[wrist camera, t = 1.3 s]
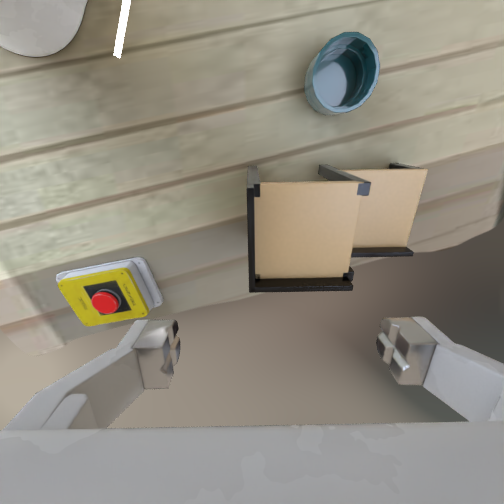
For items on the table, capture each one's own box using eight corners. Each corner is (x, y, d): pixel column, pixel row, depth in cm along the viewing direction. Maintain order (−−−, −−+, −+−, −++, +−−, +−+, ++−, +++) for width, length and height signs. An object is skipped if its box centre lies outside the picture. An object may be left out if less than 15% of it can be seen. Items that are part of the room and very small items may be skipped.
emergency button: (156, 320, 38) (67, 336, 39) (165, 303, 42) (84, 317, 43) (131, 270, 34) (34, 288, 35) (143, 255, 38) (55, 273, 39)
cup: (305, 47, 27) (316, 32, 23) (365, 46, 27) (386, 31, 23) (301, 115, 30) (309, 113, 26) (355, 114, 30) (372, 112, 26)
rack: (248, 165, 33) (246, 187, 19) (398, 163, 33) (499, 183, 19) (249, 235, 37) (249, 292, 24) (382, 233, 37) (456, 289, 24)
